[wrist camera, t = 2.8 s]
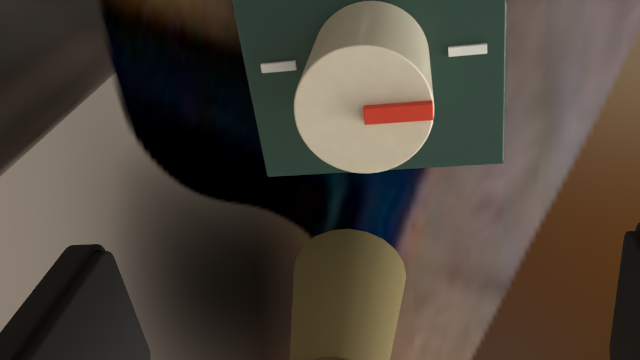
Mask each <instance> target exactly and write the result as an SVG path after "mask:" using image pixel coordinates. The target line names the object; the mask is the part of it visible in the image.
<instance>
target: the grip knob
mask: <svg viewBox="0 0 640 360" xmlns="http://www.w3.org/2000/svg"><path fill="white" fill-rule="evenodd" d="M294 118H295V122H296V126H297V128H298V131H299V134H300V135H301V137H302V139H303V141H304V142H305V143H306V145H307V146H308V148H309V149H310V150H311V151H312V152H313V153H314V154H315V155H316V156H318V157H319V158H320V159H321V160H323V161H325V162H326V163H328V164H330V165H332V166H334V167H336V168H338V169H341V170H344V171H349V172H354V173H377V172H382V171H386V170H389V169H392V168H394V167H396V166H398V165H400V164H402V163H404V162H405V161H407V160H408V159H410V158H411V157H412V156H413V155H414V154H416V153H417V151H418V150H419V149H420V148H421V147H422V145H423V144H424V142H425V141H426V139H427V137H428V135H429V133H430V131H431V128H432V125H433V119H434V98H433V88H432V77H431V67H430V57H429V48H428V43H427V39H426V37H425V34H424V32H423V30H422V29H421V27H420V25H419V24H418V23H417V22H416V20H415V19H414V18H413V17H412V16H411V15H410V14H408V13H407V12H405V11H404V10H403V9H401V8H399V7H397V6H395V5H392V4H389V3H385V2H381V1H362V2H357V3H354V4H350V5H348V6H346V7H344V8H342V9H340V10H339V11H337V12H336V13H334V14H333V15H332V16H331V17H330V18H329V19H328V20H327V21H326V22H325V24H324V25H323V27H322V28H321V30H320V32H319V34H318V36H317V38H316V41H315V43H314V46H313V48H312V51H311V53H310V56H309V58H308V61H307V64H306V66H305V69H304V71H303V74H302V76H301V79H300V81H299V84H298V87H297V90H296V93H295V98H294Z"/></svg>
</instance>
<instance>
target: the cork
mask: <svg viewBox="0 0 640 360" xmlns="http://www.w3.org/2000/svg"><path fill="white" fill-rule="evenodd" d="M405 282H406V272H405V266H404V263H403V261H402V259H401V257H400V256H399V254H398V252H397V251H396V250H395V249H394V248H393V247H392V246H391V245H389V244H388V243H387V242H386V241H385V240H384V239H382V238H379V237H377V236H375V235H373V234H371V233H368V232H365V231H359V230H353V229H341V230H330V231H328V232H325V233H323V234H320V235H317V236H315V237H314V238H312V239H311V240H310V241H309V242H307V243H306V244H305V245H304V246H303V247H302V248H301V250H300V252H299V254H298V255H297V257H296V260H295V267H294V280H293V303H292V324H291V325H292V326H291V347H290V360H390V356H391V351H392V346H393V341H394V336H395V331H396V326H397V321H398V317H399V312H400V307H401V302H402V297H403V292H404V287H405Z"/></svg>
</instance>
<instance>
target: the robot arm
mask: <svg viewBox="0 0 640 360" xmlns="http://www.w3.org/2000/svg"><path fill="white" fill-rule="evenodd" d="M0 360H150V350H149V347H148V344H147V342H146V339H145V337H144V334H143V332H142V329H141V327H140V324H139V322H138V318H137V316H136V313H135V311H134V308H133V306H132V303H131V300H130V298H129V295H128V292H127V290H126V287H125V285H124V282H123V279H122V277H121V274H120V272H119V269H118V266H117V264H116V261H115V259H114V256H113V254H112V253H111V252H108V251H105V249H104V248H103V247H102V246H101V245H98V244H92V245H72V246H69V247H68V248H66V250H65V251H64V252H63V253H62V254H61V256H60V257H59V258H58V259H57V261H56V262H55V263H54V265H53V266H52V267H51V268H50V270H49V271H48V272H47V274H46V275H45V276H44V277H43V279H42V280H41V281H40V283H39V284H38V285H37V286H36V288H35V289H34V290H33V291H32V293H31V294H30V295H29V297H28V298H27V299H26V300H25V302H24V303H23V304H22V306H21V307H20V308H19V309H18V311H17V312H16V313H15V314H14V316H13V317H12V318H11V320H10V321H9V322H8V324H7V325H6V326H5V327H4V329H3V330H2V331H1V332H0ZM610 360H640V223H638V225H637V227H636V231H628V232H626V234H625V236H624V242H623V249H622V257H621V265H620V272H619V280H618V287H617V295H616V302H615V310H614V317H613V325H612V332H611V340H610Z"/></svg>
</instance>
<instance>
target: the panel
mask: <svg viewBox="0 0 640 360" xmlns="http://www.w3.org/2000/svg"><path fill="white" fill-rule="evenodd" d="M231 1H232V6H233V11H234V16H235V20H236V25H237V30H238V35H239V40H240V45H241V50H242V55H243V59H244V64H245V69H246V74H247V79H248V84H249V89H250V93H251V98H252V103H253V108H254V113H255V118H256V123H257V128H258V132H259V137H260V142H261V147H262V152H263V157H264V162H265V167H266V171H267V176H268V177H272V176H290V175H307V174H324V173H342V172H349V171H344V170H341V169H338V168H336V167H334V166H332V165H330V164H328V163H326V162H325V161H323V160H321V159H320V158H319V157H318V156H316V155H315V154H314V153H313V152H312V151H311V150H310V149H309V148H308V146H307V145H306V143H305V142H304V141H303V139H302V137H301V135H300V134H299V131H298V128H297V126H296V122H295V118H294V98H295V93H296V90H297V87H298V84H299V81H300V79H301V76H302V74H303V71H304V69H305V66H306V64H307V61H308V58H309V56H310V53H311V51H312V48H313V46H314V43H315V41H316V38H317V36H318V34H319V32H320V30H321V28H322V27H323V25H324V24H325V22H326V21H327V20H328V19H329V18H330V17H331V16H332V15H333V14H334V13H336V12H337V11H339V10H340V9H342V8H344V7H346V6H348V5H350V4H354V3H357V2H362V1H381V2H385V3H389V4H392V5H395V6H397V7H399V8H401V9H403V10H404V11H405V12H407V13H408V14H410V15H411V16H412V17H413V18H414V19H415V20H416V22H417V23H418V24H419V25H420V27H421V29H422V30H423V32H424V34H425V37H426V39H427V43H428V48H429V57H430V67H431V77H432V88H433V98H434V119H433V125H432V128H431V131H430V133H429V135H428V137H427V139H426V141H425V142H424V144H423V145H422V147H421V148H420V149H419V150H418V151H417V153H416V154H414V155H413V156H412V157H411V158H410V159H408V160H407V161H405V162H404V163H402V164H400V165H398V166H396V167H394V168H392V169H389V170H394V169H411V168H429V167H446V166H463V165H481V164H498V163H503V162H504V126H505V67H506V8H507V0H231Z"/></svg>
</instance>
